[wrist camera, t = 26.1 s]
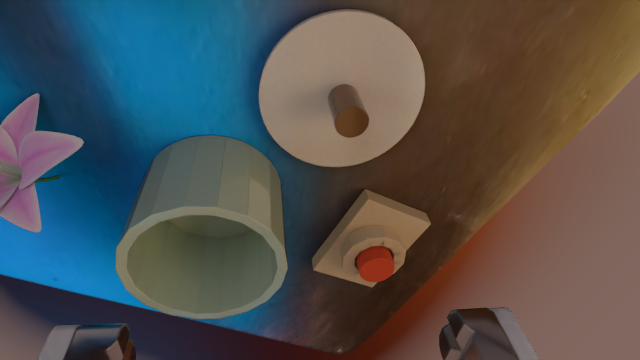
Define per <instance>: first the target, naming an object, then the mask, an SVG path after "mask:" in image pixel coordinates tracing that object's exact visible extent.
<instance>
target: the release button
mask: <svg viewBox="0 0 640 360" xmlns="http://www.w3.org/2000/svg"><path fill="white" fill-rule="evenodd" d="M357 265H358V269H359V273H360V276H361V278H362V279H364V280H365V281H368V282H379V281H383V280H385V279H387V278H388V277H390V276H391V275H392V274H393V272H394V269H395V265H394V262H393V259H392V256H391V253H390V251H389V250H388V249H387V248H385V247H383V246H373V247H369V248H367V249H365V250H363V251H361V252H360V253H359V254H358V256H357Z"/></svg>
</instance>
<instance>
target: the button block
mask: <svg viewBox="0 0 640 360" xmlns="http://www.w3.org/2000/svg"><path fill="white" fill-rule="evenodd" d="M430 224H431V223H430V221H429V219H428V216H427V214H426V213H424V212H422V211H419V210H417V209H414V208H412V207H409V206H407V205H404V204H402V203H399V202H397V201H394V200H392V199H389V198H387V197H384V196H382V195H379V194H377V193H374V192H372V191H369V190H367V189H364V191H363V192H362V193H361V194H360V196H359V197H358V198H357V200H356V201H355V202H354V204H353V205H352V206H351V208H350V209H349V210H348V212H347V213H346V214H345V216H344V217H343V218H342V219H341V221H340V222H339V223H338V225H337V226H336V227H335V229H334V230H333V231H332V233H331V234H330V235H329V237H328V238H327V239H326V240H325V242H324V243H323V244H322V246H321V247H320V248H319V250H318V251H317V252H316V254H315V255H314V256H313V258H312V265H313V270H314V271H318V272H321V273H325V274H328V275H332V276H335V277H338V278H342V279H345V280H349V281H352V282H356V283H359V284H363V285H366V286H370V287H373V286H374V285H375V284H376V283H377V282H368V281H365V280H364V279H362V278H361V276H360V273H359V269H358V265H357V256H358V254H359V253H360V252H361V251H363V250H365V249H367V248H369V247H373V246H383V247H385V248H387V249H388V250H389V251H390V253H391V256H392V259H393V262H394V265H395V269H394V272H393V274H394V273H395V272H396V271H397V270H398V269H399V268H400V267H401V266H402V265H403V264H404V260H405V254H406V250H407V249H408V248H409V247H410V246H411V245H412V244H413V243H414V242H415V241H416V240H417V238H418V237H419V236H420V235H421V234H422V233H423V232H424V231H425V230H426V229H427V228H428V227H429V225H430Z"/></svg>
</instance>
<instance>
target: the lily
mask: <svg viewBox="0 0 640 360" xmlns="http://www.w3.org/2000/svg"><path fill="white" fill-rule="evenodd" d="M39 97H40V96H39V94H38V93H37V94H34V95H32V96H31V97H29V98H27V99H26V100H25V101H24V102H22V103H21V104H20V105H19V106H17V107H16V108H15V109H14V110H13V111H12V112H11V113H10V114H9V115H8V116H7V117H6V118H5V120H4V121H3V122H2V123H1V125H0V216H1V217H3V218H4V219H6V220H7V221H9V222H11V223H13V224H15V225H17V226H19V227H21V228H23V229H26V230H28V231H32V232H40V230H41V217H40V210H39V204H38V198H37V193H36V188H35V184H34V182H43V181H50V180H55V179H59V178H60V176H59V175H57V176H52V177H47V178H39V177H40V176H42V175H43V174H44V173H46V172H47V171H48V170H50V169H51V168H53V167H54V166H55V165H57V164H58V163H60V162H61V161H63V160H64V159H66V158H67V157H69V156H70V155H72V154H73V153H74V152H76V151H77V150H78V149H79V148H81V147H82V145H83V143H84V141H83V140H82V139H81V138H78V137H76V136H73V135H68V134H63V133H57V132H49V131H35V127H36V121H37V114H38V107H39ZM38 178H39V179H38Z"/></svg>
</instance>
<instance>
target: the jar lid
mask: <svg viewBox="0 0 640 360" xmlns="http://www.w3.org/2000/svg"><path fill="white" fill-rule="evenodd" d="M424 92H425V72H424V67H423V63H422V60H421V57H420V54H419V52H418V50H417V48H416V46H415V45H414V43H413V42H412V41H411V39H410V38H409V37H408V35H407V34H406V33H405V32H404V31H403V30H402V29H401V28H400V27H398V26H397V25H396V24H394V23H393V22H391V21H390V20H388V19H386V18H384V17H382V16H380V15H377V14H374V13H371V12H368V11H362V10H355V9H342V10H333V11H328V12H324V13H321V14H318V15H315V16H313V17H310V18H308V19H306V20H305V21H303V22H301V23H299V24H298V25H296V26H295V27H294V28H292V29H291V30H290V31H288V32H287V33H286V34H285V35H284V36H283V37H282V38H281V39H280V40H279V42H278V43H277V44H276V45H275V47H274V48H273V49H272V51H271V53H270V54H269V56H268V58H267V60H266V62H265V65H264V67H263V70H262V73H261V77H260V83H259V106H260V112H261V115H262V118H263V122H264V124H265V126H266V128H267V130H268V132H269V133H270V135H271V136H272V137H273V139H274V140H275V141H276V142H277V143H278V144H279V146H281V147H282V148H283V149H284V150H285V151H287V152H288V153H289V154H291V155H293V156H294V157H296V158H298V159H300V160H302V161H305V162H307V163H310V164H314V165H319V166H326V167H344V166H351V165H356V164H360V163H363V162H366V161H369V160H371V159H373V158H375V157H377V156H379V155H381V154H383V153H384V152H386V151H387V150H389V149H390V148H391V147H393V146H394V145H395V144H396V143H397V142H398V141H399V140H401V139H402V137H403V136H404V135H405V134H406V133H407V132H408V130H409V129H410V127H411V126H412V124H413V123H414V121H415V119H416V117H417V115H418V113H419V111H420V108H421V105H422V102H423V98H424Z"/></svg>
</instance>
